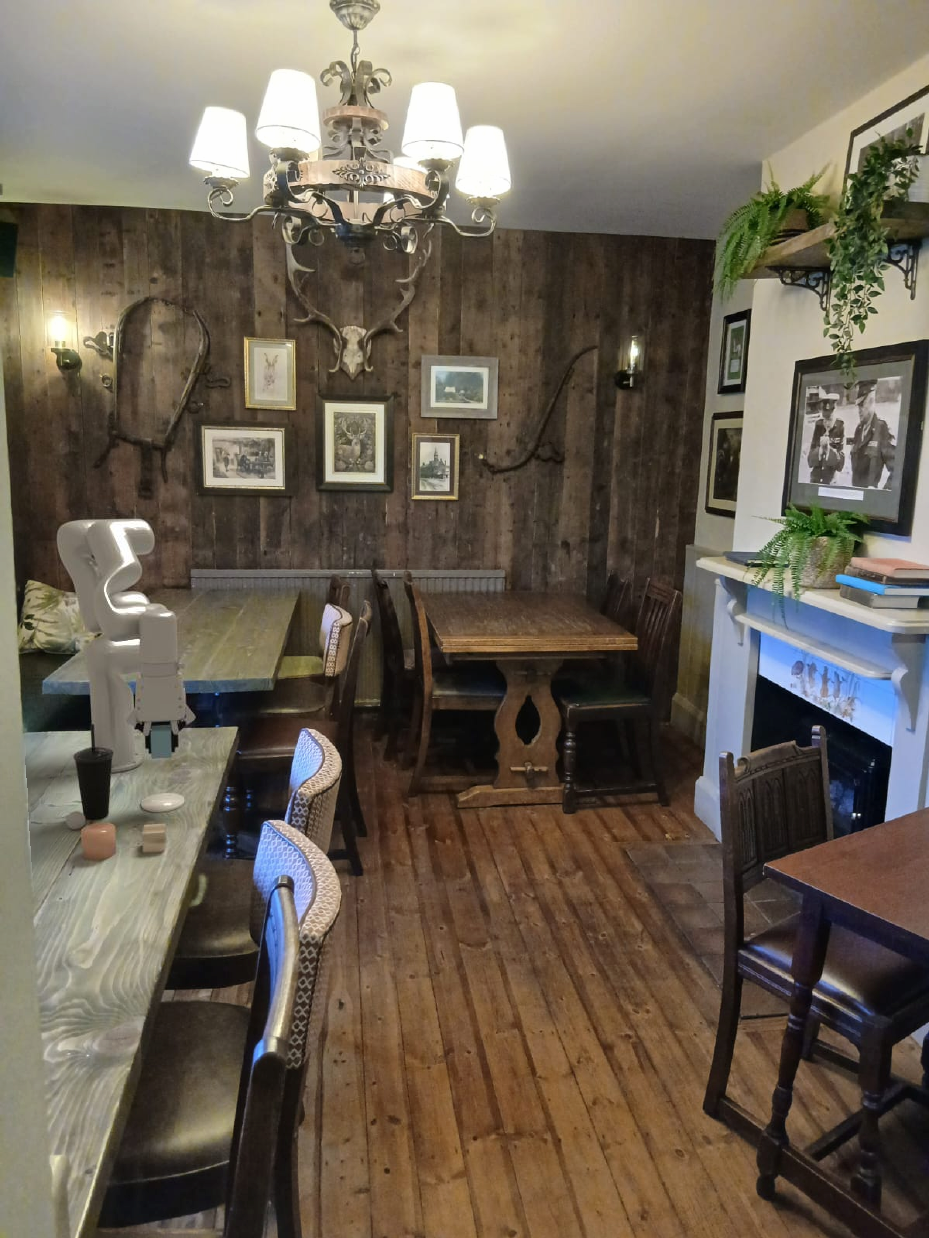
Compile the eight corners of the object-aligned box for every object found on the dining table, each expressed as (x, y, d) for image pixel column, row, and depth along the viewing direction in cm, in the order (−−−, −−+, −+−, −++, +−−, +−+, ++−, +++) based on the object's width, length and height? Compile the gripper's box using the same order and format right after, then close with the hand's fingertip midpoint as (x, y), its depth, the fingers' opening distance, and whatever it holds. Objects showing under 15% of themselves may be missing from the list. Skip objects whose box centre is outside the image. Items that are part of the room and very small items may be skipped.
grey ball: (68, 825, 179) (67, 808, 179) (87, 824, 180) (86, 807, 179) (64, 832, 176) (64, 816, 175) (84, 831, 177) (83, 814, 176)
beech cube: (144, 843, 173) (144, 824, 172) (166, 842, 174) (165, 823, 173) (142, 852, 169) (142, 833, 168) (164, 851, 170) (164, 832, 169)
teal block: (153, 752, 190) (152, 725, 189) (172, 751, 191) (171, 724, 190) (151, 758, 186) (150, 731, 185) (171, 757, 187) (170, 730, 186)
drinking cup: (101, 825, 180) (97, 732, 176) (68, 820, 181) (63, 728, 177) (123, 810, 187) (119, 720, 183) (91, 806, 189) (87, 717, 185)
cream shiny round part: (143, 796, 195) (143, 794, 195) (185, 794, 197) (185, 791, 197) (139, 813, 186) (138, 810, 186) (183, 810, 188) (183, 808, 188)
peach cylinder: (84, 847, 170) (83, 823, 169) (117, 845, 172) (116, 821, 171) (79, 862, 165) (78, 837, 164) (113, 859, 166) (112, 835, 165)
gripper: (201, 663, 191) (203, 743, 194) (119, 665, 187) (122, 747, 190) (200, 671, 184) (202, 754, 187) (114, 674, 180) (118, 759, 183)
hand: (162, 750), depth 189 cm, fingers closed on teal block, 4 cm apart
